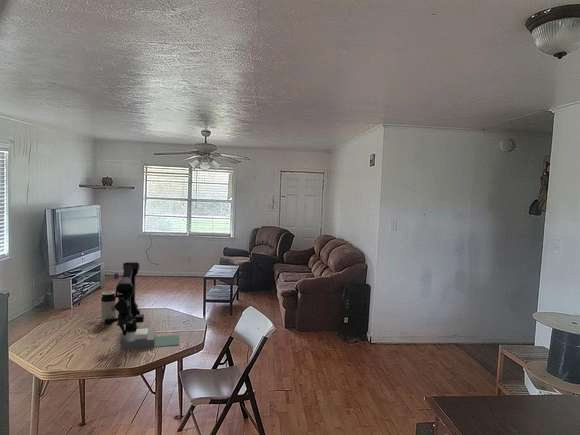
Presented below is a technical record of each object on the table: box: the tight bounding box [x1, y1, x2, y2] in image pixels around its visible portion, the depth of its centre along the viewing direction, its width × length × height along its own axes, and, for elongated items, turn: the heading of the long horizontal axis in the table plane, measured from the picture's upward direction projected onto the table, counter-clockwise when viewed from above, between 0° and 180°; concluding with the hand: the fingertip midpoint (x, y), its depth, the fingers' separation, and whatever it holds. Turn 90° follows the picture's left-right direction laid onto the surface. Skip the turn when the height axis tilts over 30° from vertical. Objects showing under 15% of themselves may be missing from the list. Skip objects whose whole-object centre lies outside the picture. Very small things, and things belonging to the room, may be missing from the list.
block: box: [135, 328, 149, 340], centre depth 202 cm, size 9×6×2 cm, turn 17°
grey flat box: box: [120, 330, 156, 351], centre depth 201 cm, size 13×16×4 cm
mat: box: [154, 334, 180, 348], centre depth 206 cm, size 14×12×1 cm
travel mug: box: [100, 290, 117, 324], centre depth 235 cm, size 8×8×18 cm
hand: (124, 335), depth 199 cm, fingers closed
